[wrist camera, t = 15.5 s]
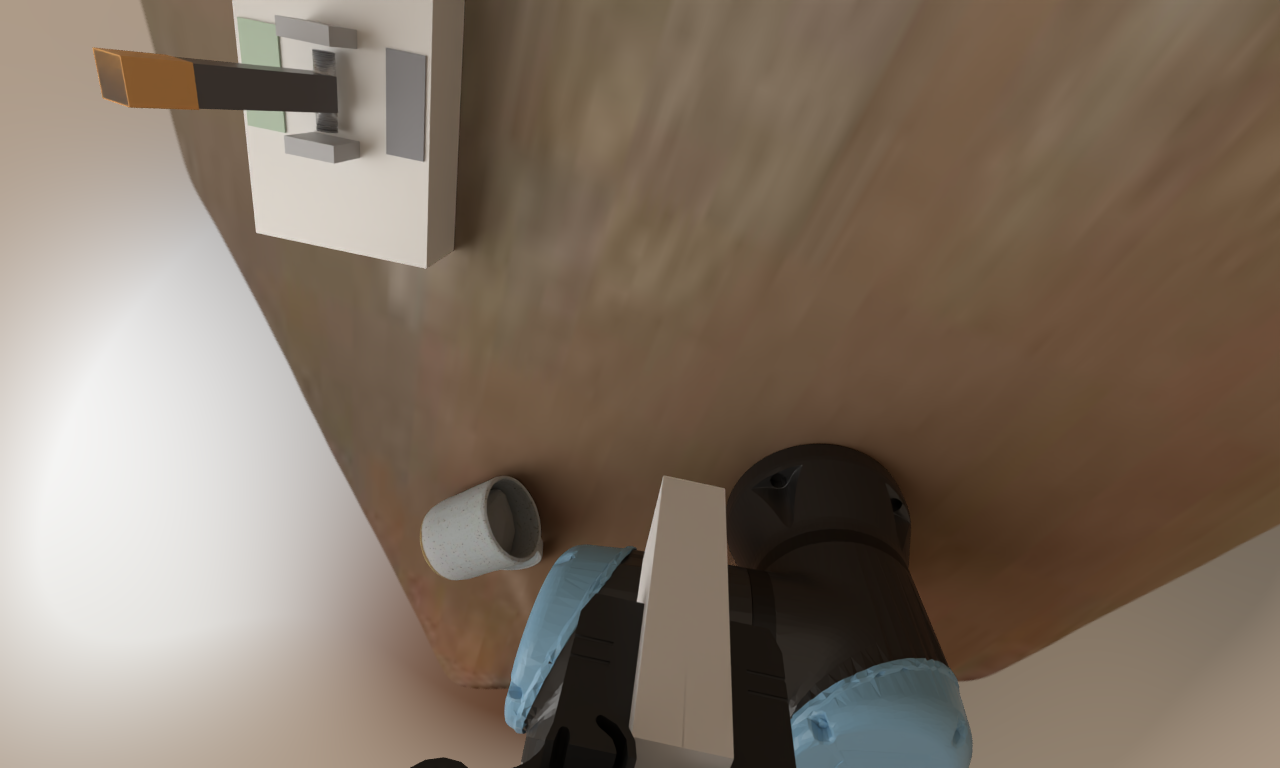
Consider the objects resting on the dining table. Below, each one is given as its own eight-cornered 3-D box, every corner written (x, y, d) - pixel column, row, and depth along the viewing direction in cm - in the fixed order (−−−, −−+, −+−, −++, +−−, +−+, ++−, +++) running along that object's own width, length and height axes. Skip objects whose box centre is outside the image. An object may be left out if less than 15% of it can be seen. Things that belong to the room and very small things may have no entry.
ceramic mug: (434, 490, 57) (397, 547, 50) (504, 457, 54) (475, 513, 48) (500, 569, 61) (474, 632, 54) (569, 541, 58) (550, 604, 51)
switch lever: (347, 134, 38) (134, 134, 28) (323, 127, 39) (107, 124, 29) (345, 55, 36) (114, 25, 26) (320, 49, 37) (86, 18, 27)
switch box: (453, 250, 47) (407, 281, 39) (299, 218, 47) (225, 242, 40) (468, -69, 37) (410, -104, 30) (276, -107, 38) (175, -152, 30)
